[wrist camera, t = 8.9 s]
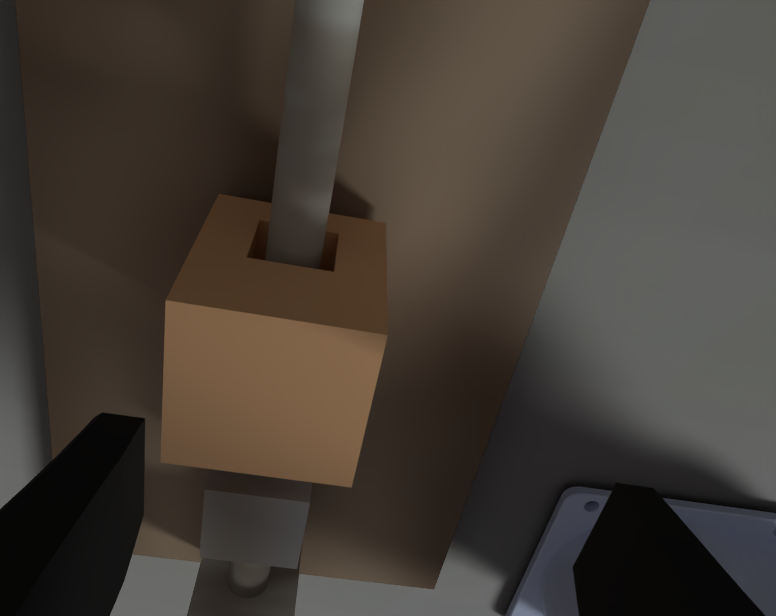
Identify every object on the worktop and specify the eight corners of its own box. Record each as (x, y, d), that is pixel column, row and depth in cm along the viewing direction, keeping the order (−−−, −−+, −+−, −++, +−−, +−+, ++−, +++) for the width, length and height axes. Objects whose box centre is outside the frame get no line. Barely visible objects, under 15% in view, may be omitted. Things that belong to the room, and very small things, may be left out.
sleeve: (385, 223, 17) (388, 335, 13) (357, 354, 19) (351, 487, 15) (218, 193, 16) (165, 300, 12) (209, 332, 18) (160, 462, 14)
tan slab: (819, -539, 11) (1098, -802, 7) (431, 561, 26) (442, 702, 21) (-12, -808, 10) (-328, -1361, 5) (72, 517, 24) (5, 659, 20)
